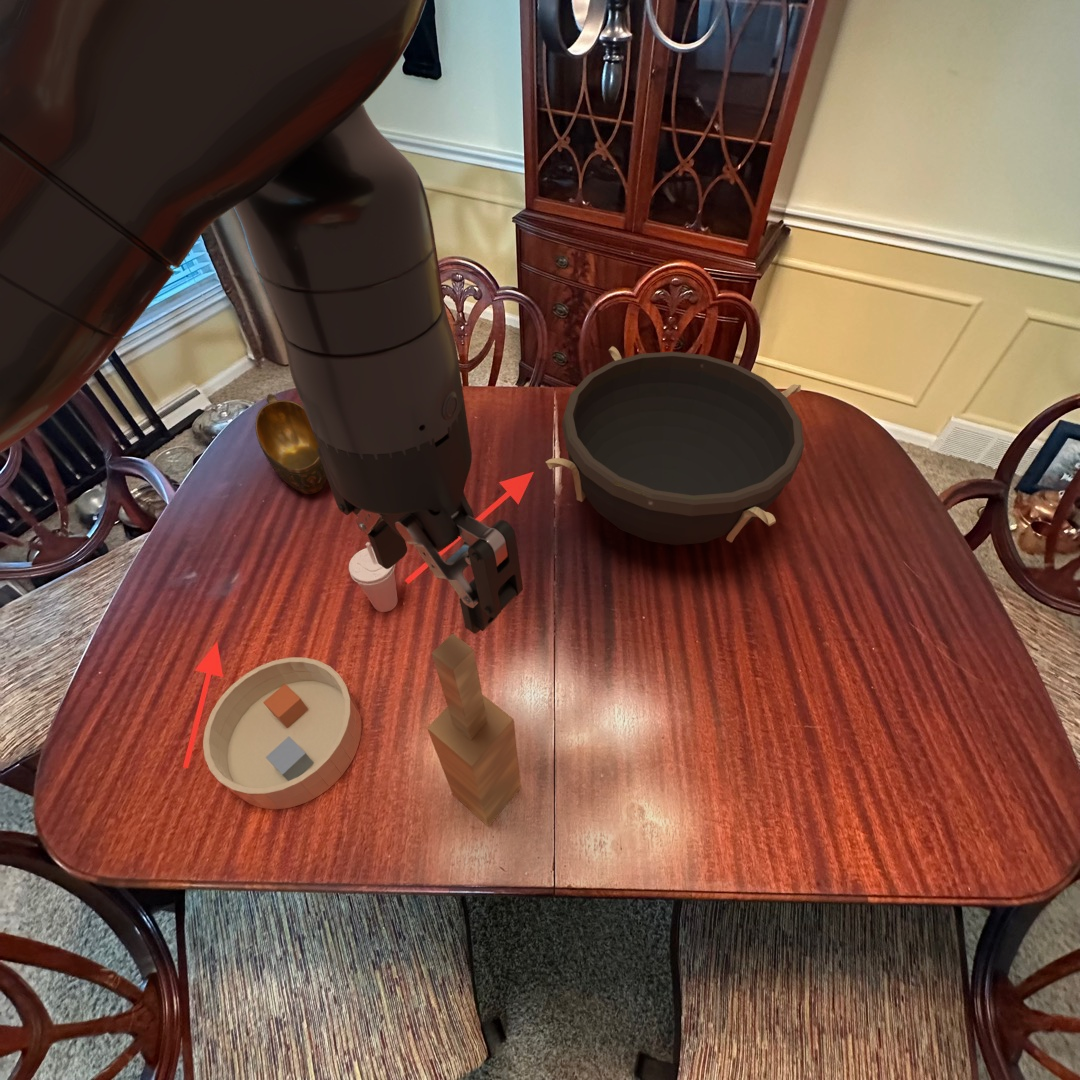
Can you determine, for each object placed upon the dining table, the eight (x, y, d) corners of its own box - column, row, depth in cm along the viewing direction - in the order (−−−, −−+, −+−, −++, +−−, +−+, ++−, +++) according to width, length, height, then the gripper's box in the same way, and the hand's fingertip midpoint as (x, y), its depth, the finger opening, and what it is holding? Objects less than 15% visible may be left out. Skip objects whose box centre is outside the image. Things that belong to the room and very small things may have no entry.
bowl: (780, 468, 110) (817, 375, 95) (750, 621, 89) (792, 533, 74) (596, 424, 119) (603, 333, 104) (529, 555, 98) (525, 464, 82)
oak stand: (488, 827, 71) (471, 766, 56) (452, 794, 74) (426, 727, 58) (521, 786, 74) (513, 718, 59) (485, 756, 77) (469, 683, 61)
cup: (346, 430, 119) (332, 387, 111) (331, 503, 106) (313, 460, 98) (280, 434, 118) (261, 391, 111) (256, 507, 105) (233, 465, 98)
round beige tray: (277, 841, 70) (258, 826, 66) (197, 749, 78) (175, 730, 73) (389, 729, 79) (379, 709, 74) (307, 656, 86) (294, 634, 82)
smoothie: (399, 622, 90) (378, 564, 79) (358, 616, 90) (332, 559, 80) (411, 587, 94) (393, 528, 83) (372, 582, 95) (349, 523, 84)
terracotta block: (287, 728, 79) (278, 717, 76) (272, 713, 80) (262, 702, 77) (308, 709, 80) (300, 698, 78) (293, 694, 82) (284, 683, 79)
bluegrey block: (291, 784, 74) (282, 775, 71) (275, 767, 75) (265, 757, 73) (314, 763, 76) (305, 752, 73) (297, 746, 77) (288, 735, 75)
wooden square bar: (470, 740, 58) (452, 670, 47) (452, 725, 59) (431, 653, 48) (487, 721, 59) (473, 649, 48) (469, 707, 60) (452, 632, 49)
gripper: (234, 381, 30) (327, 573, 43) (433, 508, 24) (474, 688, 37) (350, 318, 34) (405, 512, 46) (548, 415, 28) (550, 607, 41)
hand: (436, 589), depth 42 cm, fingers open, 8 cm apart
